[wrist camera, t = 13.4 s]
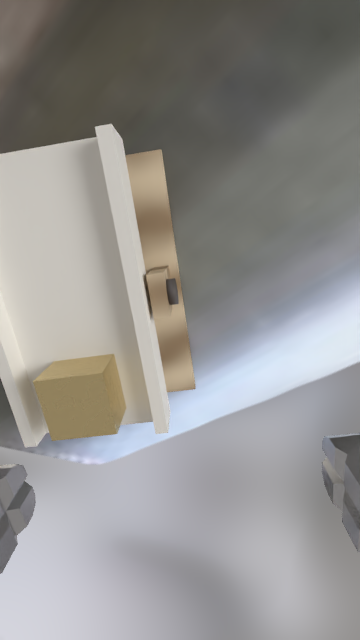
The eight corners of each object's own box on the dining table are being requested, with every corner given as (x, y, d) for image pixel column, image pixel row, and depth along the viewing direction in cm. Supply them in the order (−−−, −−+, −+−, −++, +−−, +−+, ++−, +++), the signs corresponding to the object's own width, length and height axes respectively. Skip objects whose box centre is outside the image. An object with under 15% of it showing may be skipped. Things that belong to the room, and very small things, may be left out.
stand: (-27, 184, 30) (-95, 167, 23) (161, 152, 29) (152, 123, 22) (40, 402, 37) (5, 442, 30) (195, 384, 36) (196, 422, 29)
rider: (54, 361, 28) (32, 381, 24) (113, 353, 28) (102, 372, 24) (69, 414, 30) (52, 440, 26) (126, 407, 29) (117, 433, 25)
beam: (-42, 168, 25) (-78, 157, 21) (122, 139, 24) (111, 123, 20) (42, 424, 32) (25, 447, 29) (170, 411, 31) (168, 432, 28)
